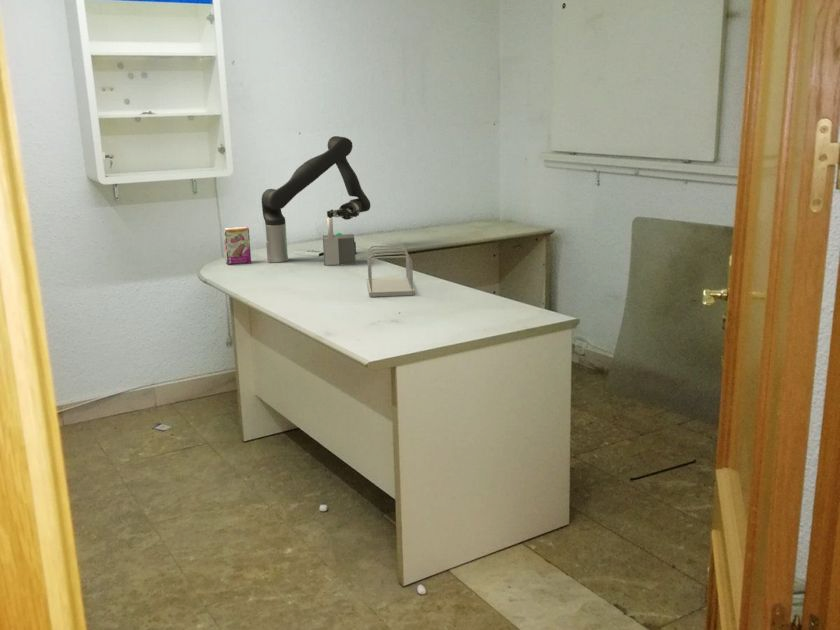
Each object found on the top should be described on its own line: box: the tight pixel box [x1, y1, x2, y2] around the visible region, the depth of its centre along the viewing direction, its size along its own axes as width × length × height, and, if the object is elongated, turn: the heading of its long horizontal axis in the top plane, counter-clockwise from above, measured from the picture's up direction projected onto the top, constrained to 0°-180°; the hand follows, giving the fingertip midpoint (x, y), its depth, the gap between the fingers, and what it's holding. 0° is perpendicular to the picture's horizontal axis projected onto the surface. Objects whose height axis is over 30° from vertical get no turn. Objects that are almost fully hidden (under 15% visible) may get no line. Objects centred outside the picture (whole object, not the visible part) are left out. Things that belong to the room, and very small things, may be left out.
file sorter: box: [366, 244, 416, 298], centre depth 320 cm, size 25×17×16 cm
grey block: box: [322, 233, 357, 266], centre depth 374 cm, size 15×10×12 cm
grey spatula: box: [323, 217, 339, 266], centre depth 367 cm, size 6×2×21 cm, turn 97°
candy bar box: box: [222, 226, 252, 266], centre depth 378 cm, size 11×5×16 cm, turn 113°
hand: (338, 215), depth 375 cm, fingers open, 8 cm apart
